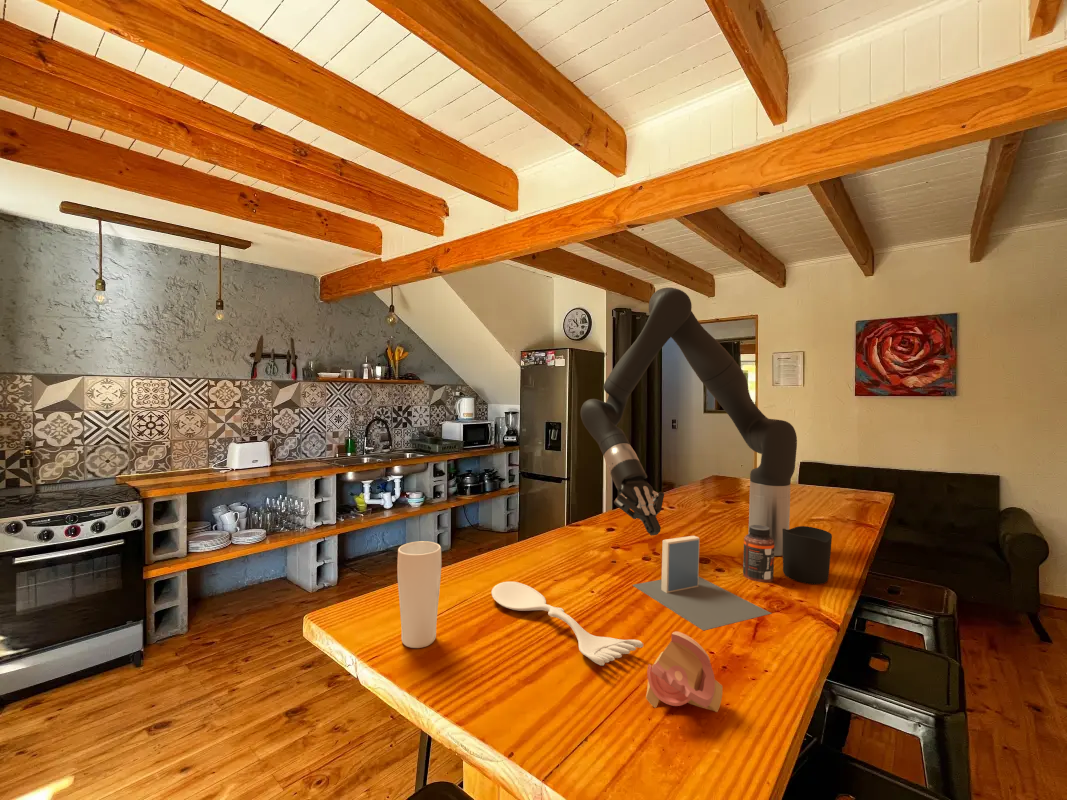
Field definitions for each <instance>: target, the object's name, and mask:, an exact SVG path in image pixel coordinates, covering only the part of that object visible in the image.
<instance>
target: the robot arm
mask: <svg viewBox="0 0 1067 800" xmlns="http://www.w3.org/2000/svg"><path fill="white" fill-rule="evenodd" d="M692 305H693V304H692V300H691V298H690V296H689V295H688V294H687V293H686V292H685V291H684V290H681V289H679V288H676V287H662V288H659V289H657V290H656V291H654V293H653V294H652V296H651V297H650V299H649V302H648V312H649V316H648V318H647V321H646V322H645V325H643V328H642V330H641V331H640V334H639V335H638V336H637V338H636V339H635V341H633V343H632V345H630V347H628V349H627V350H626V351H625V353H624V354H623V355H622V356H621V357H620V359H619V360H618V361H617V363H615V365H614V368H613V369H612V370H611V372H610V373H609V375H608V376H607V378H606V379H605V381H604V384H603V387H602V388H603V391H604V392H605V393H607V395H608V397H607V399H606V402H605V401H602V400H600V399H597V398H590V399H587V400H585V401H584V402H583V404H582V405H581V408H580V418H581V422H582V424H583V426H584V427H585V429H586V430H587V432H588V433H589V435H590V436H591V437H592V438H593V440H594V441H595V442H596V443H597V445H598V447H599V449H600V451H601V454H602V456H603V458H604V461H605V464H606V467H607V469H608V472H609V474H610V476H611V478H612V481H613V484H614V486H615V488H616V490H617V491H618V495H617V497H616V498H615V500H613V504H614V505H615V506H617V507H618V508H619V509H620V510H621V511H623V512H624V513H625V514H626V515H628V516H629V517H630V518H631V519H633V520H636V519H637V520H640V521H641V522H642V523H643V526H644V528H645V530H646V532H647V534H649V536H658V534H659V533H661V530H662V529H661V525H660V522H659V521H658V519H657V518H658V517H657V515H658V514H659V513H660V512H661V511H662V508H663V507H662V506H663V503H664V502H663V501H664V497H665V493H664V492H663V491H659V492H657V491H655V490H654V489H653V486H651V484H650V483H649V482H648V475H647V473H646V471H645V469H644V467H643V464H642V463H641V461H640V459H639V457H638V455H637V453H636V451H635V450H634V449H633V447H632V446H631V443H630V442H629V440H628V438H627V436H626V433H625V432H624V430H623V429H622V428H620V427H618V424H619V423H620V422H621V420H622V417H623V415H624V412H625V409H626V405H627V404H628V400H629V397H630V395H631V394H632V392H633V391H634V390H635V388H636V386H637V385H638V383H640V381H641V379H642V377H643V375H644V374H645V373H646V371H647V370H648V368H649V367H650V365H651V364H652V362H653V360H654V359H655V358H656V356H657V355H658V353H659V352H660V351H661V349H662V348H663V347H664V346H665V344H667V342H668V341H669V340H670V339H672V340H673V342H675V344H676V345H677V346H678V348H679V349H680V350H681V352H682V354H683V355H684V357H685V359H686V360H687V362H688V364H689V365H690V368H691V369H692V370H693V372H694V374H696V376H697V377H698V378H699V380H700V382H702V384H703V385H704V386H705V388H706V389H707V390H708V392H709V393H710V394H711V395H712V396H713V397H714V398H715V400H716V401H717V403H718V404H719V405H720V407H722V409H723V410H724V411H725V413H726V414H727V416H729V418H730V419H731V421H732V422H733V424H734V426H735V427H736V429H737V431H738V432H739V434H740V435H741V437H742V438H743V441H744V442H745V443H746V445H747V446H748V448H749V449H751V450H752V451H753V452H755V453H758V454H760V455H761V457H760V464H759V465H758V466H757V467H756V468H755V467H754V468H752V469H751V470H750V473H749V502H748V503H749V507H748V513H749V515H748V527H749V526H750V525H762V526H766V527H768V528H769V529H770V537H771V538H772V539H773V540H774V557H779V556H780V557H781V556H782V557H783V529H786V530H789V529H790V517H791V515H790V514H791V513H790V510H791V508H790V507H791V482H792V481H791V480H792V478H793V475H794V473H795V471H796V470H795V469H796V459H797V458H796V457H797V449H798V448H797V447H798V439H797V437H798V436H797V432H796V430H795V428H794V426H793V424H791V423H790V422H788V421H786V420H782V419H775V418H769V417H767V416H766V415H765V414H764V413H763V412H762V411H761V410H760V409H759V408H758V407H757V405H756V404H755V403H754V400H753V399H752V397H751V395H750V390H749V385H748V380H747V377H746V375H745V373H744V371H743V370H742V368H741V367H740V365H739V364H738V363H737V361H736V360H735V359H734V357H733V356H732V355H731V354H730V352H728V350H726V348H725V347H724V346H723V345H722V344H721V343H720V342H719V341H718V340H717V339H716V338H714V337H713V335H711V334H710V333H709V332H708V331H707V330H706V329H705V328H704V326H702V324H701V323H700V321H699V320H698V319H697V317H696V316H695V314H694V313H693V311H692V308H693V307H692ZM748 534H750V532H749V531H748ZM748 534H747V535H748Z"/></svg>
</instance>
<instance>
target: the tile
mask: <svg viewBox="0 0 1067 800" xmlns="http://www.w3.org/2000/svg"><path fill="white" fill-rule="evenodd" d="M661 548H662V549H661V550H662V553H661V579H662V584H661V590H662V591H664V592H666V593H669V592H674V591H679V590H684V589H689V588H694V587H698V576H699V573H700V572H699V567H700V565H699V564H700V537H698V536H696V535H690V536H689V535H688V536H681V537H674V538H668V539H667V538H666V539H663V540H662V547H661Z"/></svg>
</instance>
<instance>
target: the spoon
mask: <svg viewBox="0 0 1067 800" xmlns="http://www.w3.org/2000/svg"><path fill="white" fill-rule="evenodd" d="M491 596H492V599H494V601H496V603H497V604H499V605H500V606H501V607H503V608H506V609H509V610H513V611H522V612H523V611H525V612H526V611H532V612H533V611H544V612H548V613H547V614H548V616H550V617H552V618H557V619H559V620H562V621H563V622H564V623H566V624H567V625H568V626H569V627H570V628H571V629H572V632H573V633H574V634H575V637H576V639H577V642H578V650H579V652H580V653H581V654H582V655H584V656H585V657H587V658H588V659H589V660H591V661H592V662H594V663H595V664H597V665H599V666H605V663H609V662H613V661H615V659H620V658H622V656H623V655H628V654H631V651H633V652H634V651H636V650H637V648H639V649H640V648H643V647H644V643H643V642H642V641H641V640H639V639H621V638H619V639H618V638H616V637H615V638H614V637H610V636H597V635H593V634H591V633H590V632H588V631H586V630H585V629H584V628H583V627H582V626H581V625H580V624H579V623H578V622H577V621H576V619H574V618H573V617H571V616H570V615H569V614H567V613H565V610H564V609H563V608H562V607H556V606H552V605H550V604H547V598H546V597H545V596H544V595H543V594H542V593H541V592H539V591H538V590H536V589H535V588H533V587H532V586H529V585H527V584H524V583H521V582H518V581H503V582H500V583H498V584H496V585H495V586H493V587H492V589H491Z"/></svg>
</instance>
